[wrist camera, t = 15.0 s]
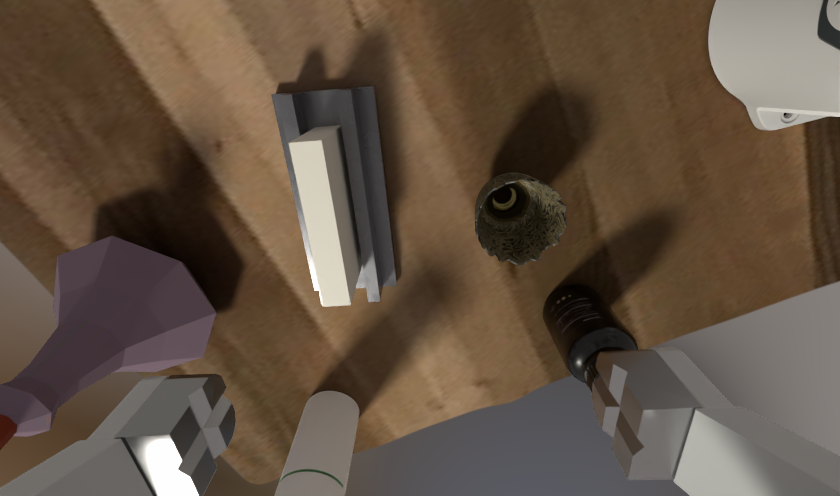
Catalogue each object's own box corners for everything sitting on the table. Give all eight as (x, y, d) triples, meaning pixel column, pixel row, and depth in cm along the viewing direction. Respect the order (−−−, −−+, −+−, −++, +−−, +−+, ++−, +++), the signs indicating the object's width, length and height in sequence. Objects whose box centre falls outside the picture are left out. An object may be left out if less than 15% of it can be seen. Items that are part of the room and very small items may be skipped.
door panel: (315, 127, 35) (288, 142, 28) (341, 125, 35) (321, 140, 28) (340, 264, 41) (323, 306, 34) (363, 262, 41) (350, 304, 34)
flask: (55, 283, 43) (-208, 439, 25) (133, 187, 39) (-120, 293, 21) (182, 368, 49) (39, 548, 30) (265, 292, 44) (155, 451, 26)
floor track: (275, 93, 35) (258, 96, 31) (374, 85, 35) (369, 87, 31) (316, 285, 43) (307, 306, 40) (397, 280, 43) (395, 300, 40)
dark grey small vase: (508, 141, 37) (529, 159, 30) (555, 194, 39) (586, 224, 32) (450, 195, 39) (456, 224, 32) (498, 243, 41) (514, 280, 34)
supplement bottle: (612, 312, 45) (673, 391, 34) (559, 341, 47) (601, 425, 36) (583, 270, 43) (639, 340, 32) (529, 303, 44) (565, 379, 34)
